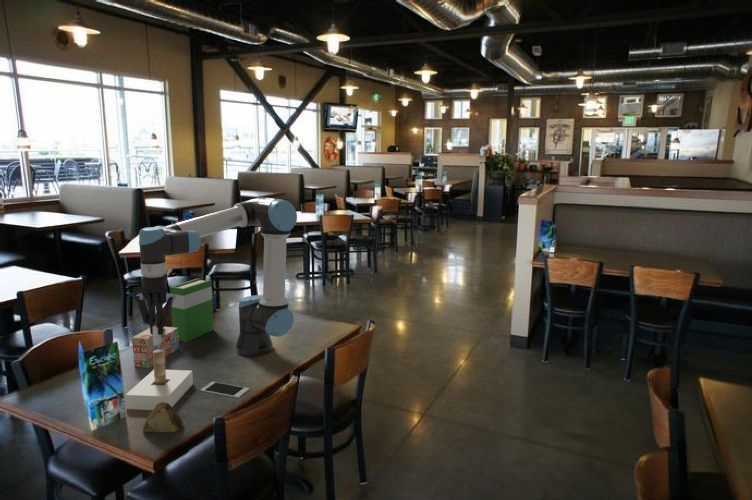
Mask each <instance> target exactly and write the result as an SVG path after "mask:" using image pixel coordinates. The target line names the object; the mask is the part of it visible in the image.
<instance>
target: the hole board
mask: <svg viewBox="0 0 752 500" xmlns="http://www.w3.org/2000/svg"><path fill="white" fill-rule="evenodd" d="M165 370H166V384H165V385H155V383H154V381H155V379H154V369H153V370H152V371H150V372H149V373H148V374H147V375H146V376H145V377H143V379H141V380H140V381H139V382H137V384H136V385H135V386H133V388H131V389H130V390H128V392H127V393H126V394H125V406H126V407H125V408H126V410H139V411H153V409H154V408H155V407H156V405H157V404H159V403H161V402H165V403H168V404H169V405H170V406H172V408H174V406H175V404H177V402H178V401H180V399H181V398H182V397H183V396H184V394H186V392H187V391H188V390H189V389H190V388H191V387H192V386H193V385H194V381H193V380H194V379H193V378H194V376H193V375H194V374H193V370H187V369H186V370H181V369H165Z"/></svg>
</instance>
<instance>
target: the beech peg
mask: <svg viewBox="0 0 752 500" xmlns="http://www.w3.org/2000/svg"><path fill="white" fill-rule="evenodd" d="M153 363H154V365H153V370H154V379H155V381H154V383H155V385H165V384H166V370H167V369H166V357H165V353H164V350H155V351H153Z"/></svg>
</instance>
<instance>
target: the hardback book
mask: <svg viewBox="0 0 752 500" xmlns="http://www.w3.org/2000/svg"><path fill="white" fill-rule="evenodd" d="M212 283H213V282H212V279H208V280H202V279H201V278H200V277H197V278H194V279H192V280H188V281H185V282H181V283H178V284H175V285H172V286H169V290H170V291H169V294H170V295H172V296H173V295H175V299H174V301H173V303H172V308H171V313H170V315H171V327H175V328H178V335H179V342H183V343H187V342H191V341H192V340H195V339H197V338H198V337H201V336H203V335H206V334H208V333H210V332H212V331H214V313H213V312H214V309H213V288H212V286H213V285H212ZM205 333H206V334H205Z"/></svg>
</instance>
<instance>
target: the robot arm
mask: <svg viewBox="0 0 752 500" xmlns="http://www.w3.org/2000/svg"><path fill="white" fill-rule="evenodd" d="M297 221H298V214H297V209H296V208H295V206H294V205H293V204H292V203H291V202H289V201H288V200H284V199H282V198H273V197H266V196H260V197H255V198H252V199H248V200H247V199H246V200H245V201H241V202H238V203H237V202H236V203H235V204H234V205H233V207H229V208H227V209H223V210H218V211H216V212H212V213H208V214H205V215H202V216H198V217H194V218H190V219H188V220H184V221H180V222H176V223H173V224H172V223H171V224H169V225H166V226H165V225H157V226H156V225H155V226H154V227H153V226H152V227H144V228H141V229H140V230H139V234H138V245H139V256H140V274H141V279H140V280H141V287H142V288H141V291H140V293H138V294H136V295H135V296H134V300H135V301H136V302H137V304H138V308H139V312H140V314H141V317H142V321H143V324H146V325H149V328H150V333H151V335H153V345H159V344H160V343H161V335H162V334H163V327H164V325H166V324H167V323H169V321H170V318H171V308H172V303H173V301H174V299H175V295H173V296H172V295H170V292H169V290H168V288H167V284H168V283H167V281H168V280H167V275H166V274H167V265H166V257H167V256H174V255H183V254H191V253H196V252H198V251H199V250H200V249H201V244H202V243H201V242H202V241H201V238H203V237H204V238H205V237H207V236H210V235H214V234H217V233H221V232H223V231H227V230H230V229H233V228H237V227H240V228H245V227H248V226H249V227H251V226H258V227H260V232H259V233H260V235H262V237H263V239H264V240H263V271H262V272H263V278H262V279H263V281H262V294H256V295H250V296H249V295H248V296H245V297H242V298H240V299H239V301H238V316H239V317H238V318H239V320H238V321H239V324H238V325H239V334H238V338H237V341H236V344H235V352H236V353H237V354H238V355H241V356H244V357H245V356H246V357H257V356H263V355H267V354H269V353H270V352H272V351H273V347H274V346H273V341H272V337H282V336H285V335H286V334H287V333H288V332H289V331H291V329H292V327H293V325H294V321H295V320H294V319H295V317H294V314H293V312H292V311H291V310H290V309H289V303H290V302H289V300H288V299H287V298H286V268H287V238H288V237H289V236H290V235H291V230H292V229H293V228H294V227H295V225H296V224H297ZM164 300H166V302H165V307H164ZM147 306H148V307H147Z"/></svg>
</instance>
